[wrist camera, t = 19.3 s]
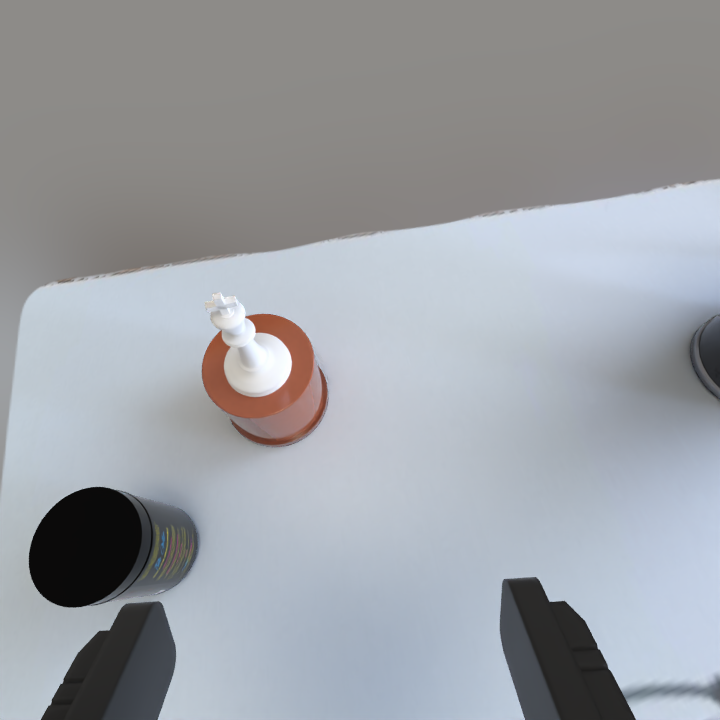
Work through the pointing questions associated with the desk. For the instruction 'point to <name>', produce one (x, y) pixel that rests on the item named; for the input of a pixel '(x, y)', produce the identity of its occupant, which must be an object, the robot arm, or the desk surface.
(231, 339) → the chess piece
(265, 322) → the upturned cup
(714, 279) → the desk surface
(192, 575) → the desk surface
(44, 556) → the supplement container
